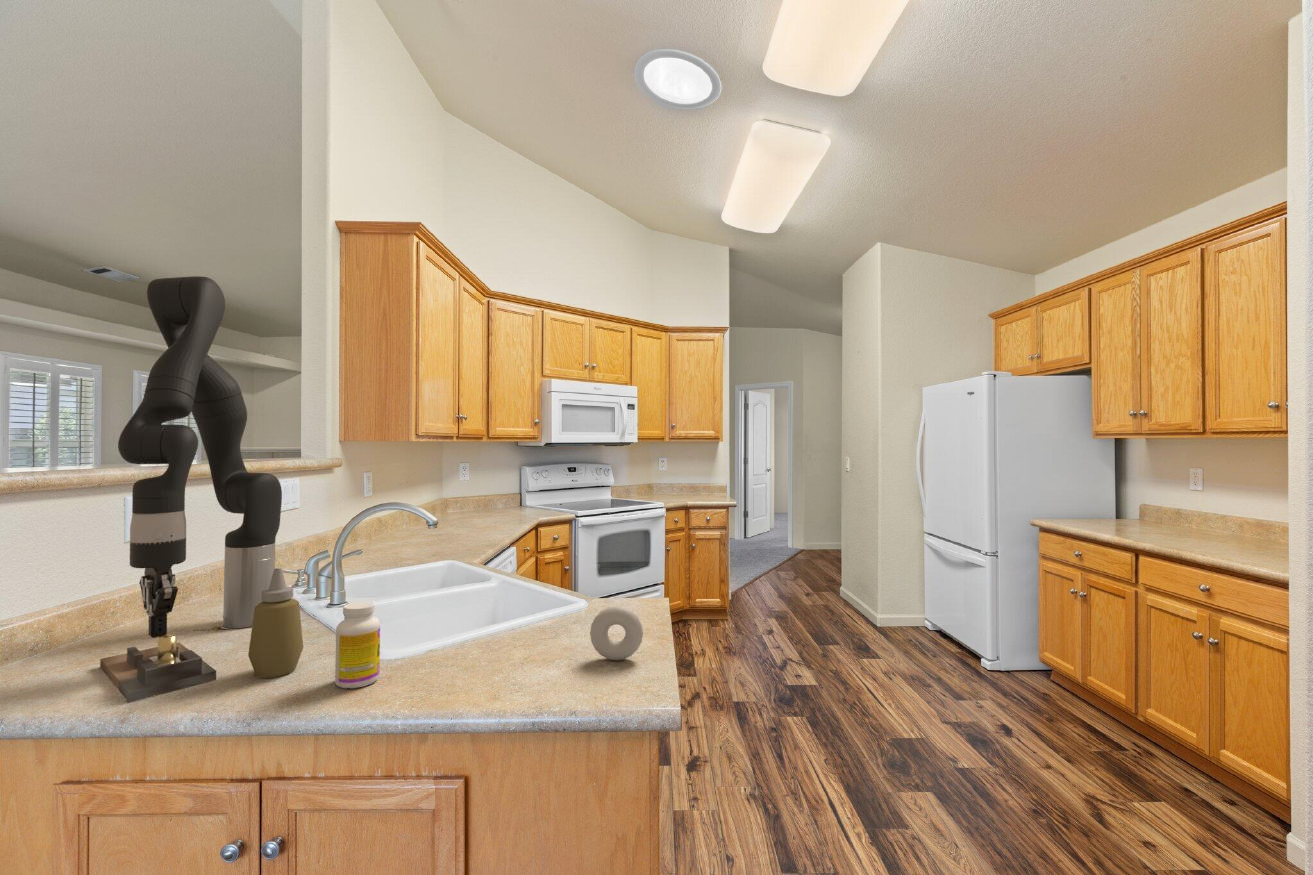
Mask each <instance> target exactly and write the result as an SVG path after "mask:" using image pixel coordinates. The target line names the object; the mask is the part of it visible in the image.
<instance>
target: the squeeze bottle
mask: <svg viewBox="0 0 1313 875" xmlns="http://www.w3.org/2000/svg"><path fill="white" fill-rule="evenodd" d="M261 600H262V601H263V602H261V603H259V604H258V605H257V606H256V607H255V610H254V617H253V624H252V626H251V634H250V639H249V646H248V652H247V653H248V654H247V655H248V659H249V662H250V664H251V667H252V669H253V672H254V675H255V676H256V677H258V678H264V679H265V678H267V679H268V678H275V677H280V676H284V675H287V674H290V673H292V672H294V671H295V670H296V668H297V666H298V664H299V661H300V658H301V655H302V653H303V650H304V641H303V631H302V630H303V629H302V628H303V627H302V620H301V617H302V616H301V608H300V607H301V606H300V602H299V601H298V600H297V599H295V598H294V588H293V587H292V586H287V583H286V580H285V575H284V571H283V568H282V567H277V568H276V567H275V569H274V571H273V575H272V579H271V582H270V586H269V589H265V590H263V591H262V598H261Z"/></svg>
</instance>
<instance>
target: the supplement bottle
mask: <svg viewBox="0 0 1313 875" xmlns="http://www.w3.org/2000/svg"><path fill="white" fill-rule="evenodd" d="M374 612H375V603H374V602H371V601H357V602H351V603H347V604H345V605H343V608H342V614H343V617H344V619H343V620H341V621H340V622H339V623H338V624H337V625H336V629H335V668H334V671H335V673H334V678H335V679H334V683H335V685H336V686H337V687H339V688H342V689H347V688H350V689H358V688H363V687H366V686H369V685H371V684H374V683H375V682H377V681H378V679H379V677H380V671H381V670H380V669H381V666H380V665H381V663H380V662H381V657H380V656H381V655H380V654H381V622H380V620H379V619H378V618H377V617H375V616H373V615H374Z"/></svg>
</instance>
